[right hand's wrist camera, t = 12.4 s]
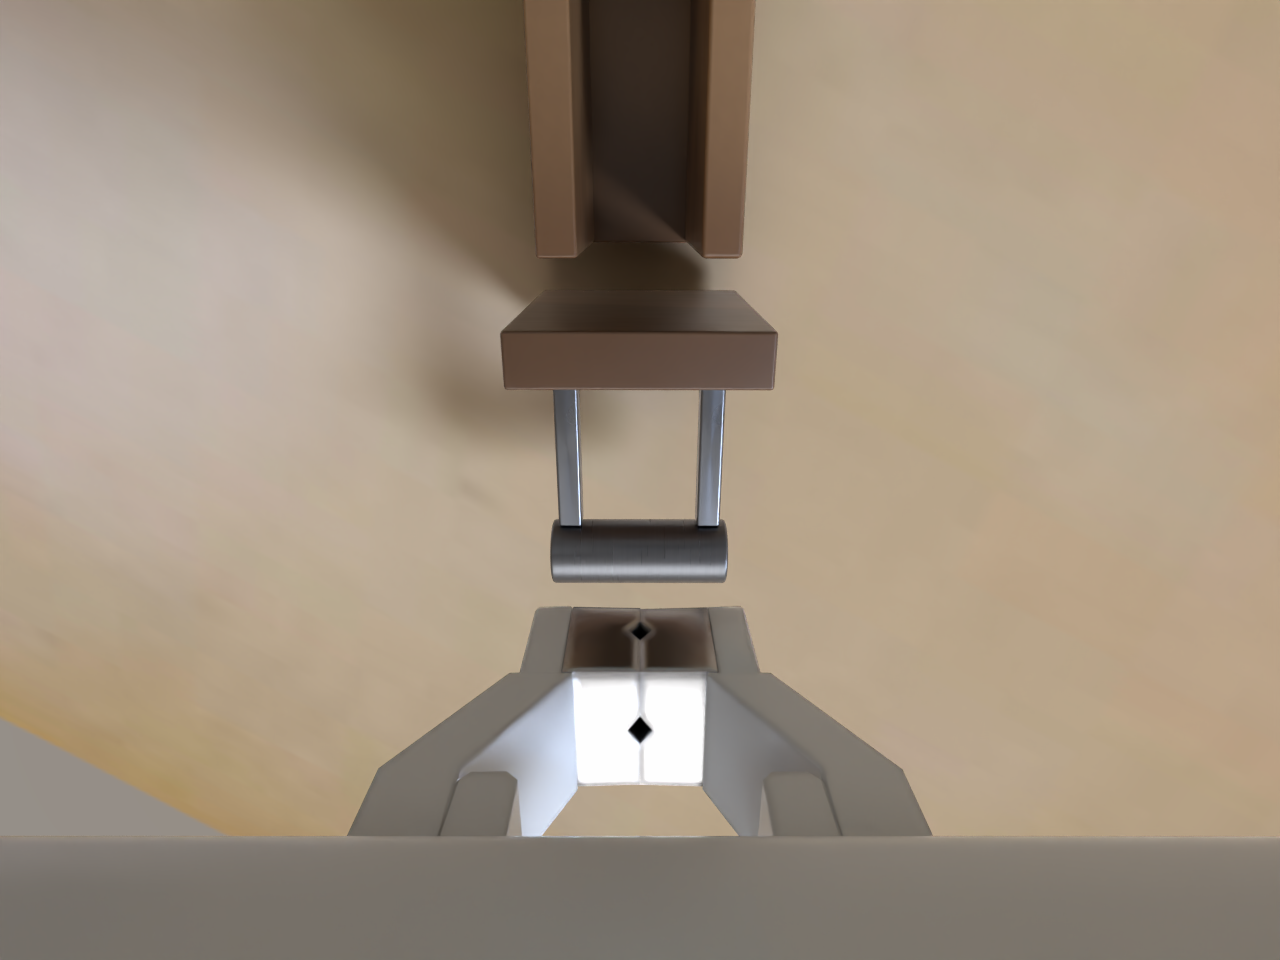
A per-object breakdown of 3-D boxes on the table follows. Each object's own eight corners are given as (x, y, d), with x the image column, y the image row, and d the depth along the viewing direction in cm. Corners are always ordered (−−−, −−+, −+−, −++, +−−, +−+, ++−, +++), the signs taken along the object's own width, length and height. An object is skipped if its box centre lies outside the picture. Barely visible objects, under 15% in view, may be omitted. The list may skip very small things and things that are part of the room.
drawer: (724, 519, 23) (755, 641, 17) (554, 519, 23) (521, 640, 17) (776, -521, 14) (883, -1087, 8) (504, -522, 14) (396, -1088, 8)
